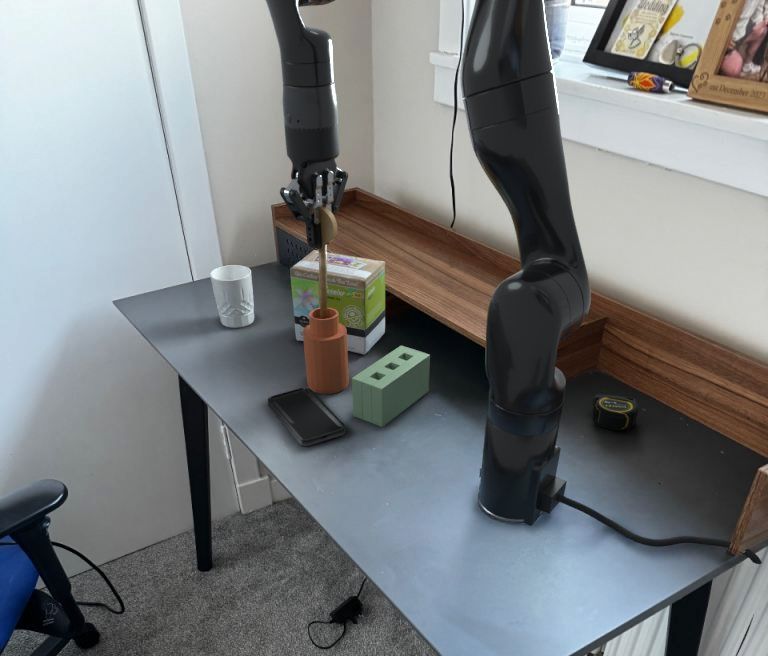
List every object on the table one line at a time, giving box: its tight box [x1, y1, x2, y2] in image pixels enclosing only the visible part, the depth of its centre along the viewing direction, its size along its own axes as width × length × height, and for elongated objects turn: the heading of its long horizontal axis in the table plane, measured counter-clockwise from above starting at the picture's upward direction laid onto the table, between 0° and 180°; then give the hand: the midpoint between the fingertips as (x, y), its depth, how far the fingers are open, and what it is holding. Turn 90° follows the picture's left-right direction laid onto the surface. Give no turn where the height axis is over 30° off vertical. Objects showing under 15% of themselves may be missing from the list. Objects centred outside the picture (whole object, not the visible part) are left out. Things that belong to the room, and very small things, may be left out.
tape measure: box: [592, 393, 639, 431], centre depth 115 cm, size 7×7×4 cm
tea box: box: [289, 249, 386, 356], centre depth 135 cm, size 15×10×15 cm, turn 67°
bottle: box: [303, 308, 350, 395], centre depth 122 cm, size 7×7×13 cm
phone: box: [267, 386, 346, 447], centre depth 117 cm, size 8×1×15 cm
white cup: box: [209, 264, 255, 329], centre depth 143 cm, size 8×8×10 cm
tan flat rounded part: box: [310, 207, 338, 319], centre depth 113 cm, size 5×1×20 cm, turn 54°
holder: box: [351, 345, 431, 428], centre depth 119 cm, size 6×14×7 cm, turn 144°
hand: (319, 245), depth 111 cm, fingers closed on tan flat rounded part, 1 cm apart
